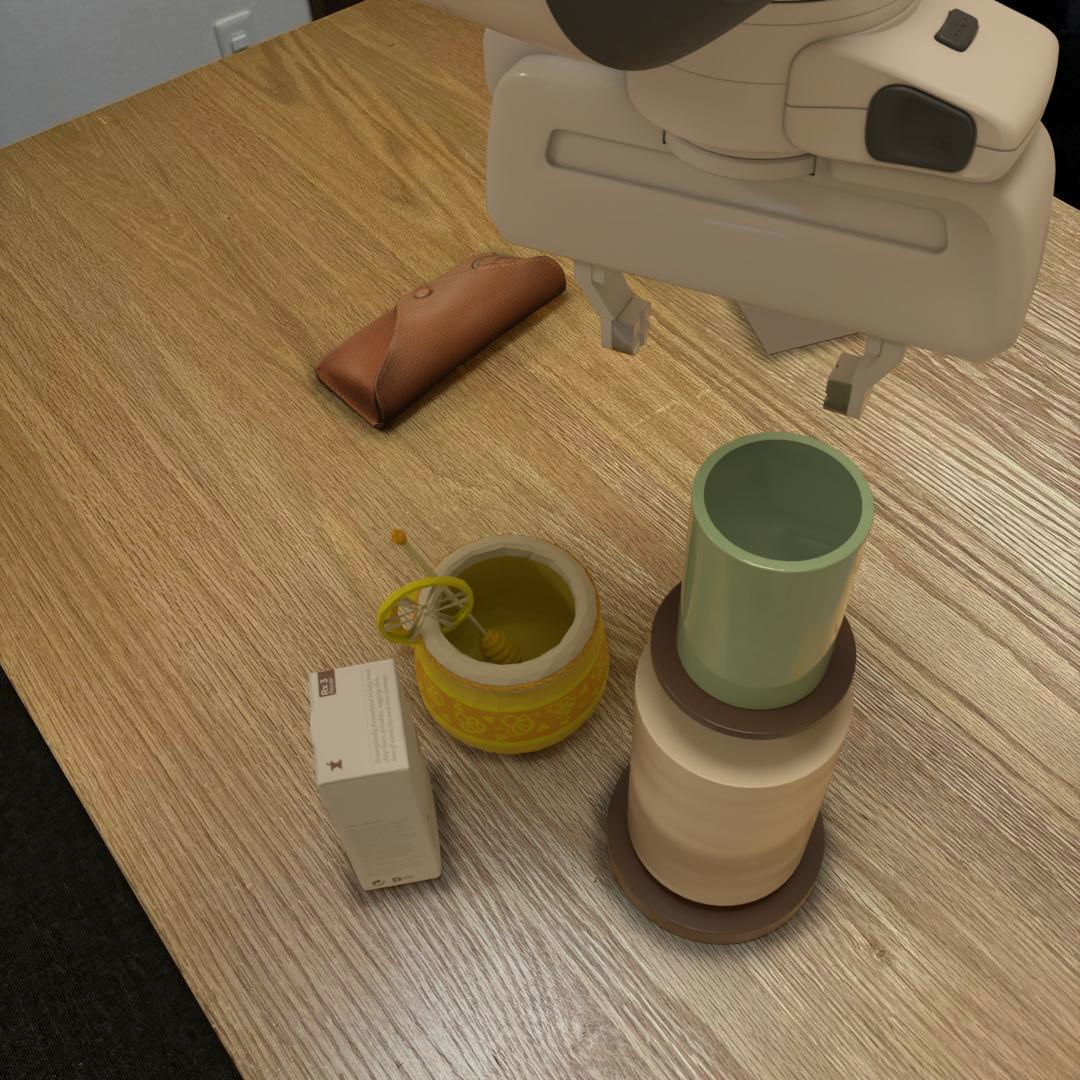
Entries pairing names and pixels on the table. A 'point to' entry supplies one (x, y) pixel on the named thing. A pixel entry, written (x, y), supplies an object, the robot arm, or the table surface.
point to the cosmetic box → (374, 774)
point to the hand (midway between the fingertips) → (732, 374)
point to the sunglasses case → (436, 332)
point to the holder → (724, 795)
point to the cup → (769, 566)
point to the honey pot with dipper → (503, 641)
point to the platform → (787, 329)
